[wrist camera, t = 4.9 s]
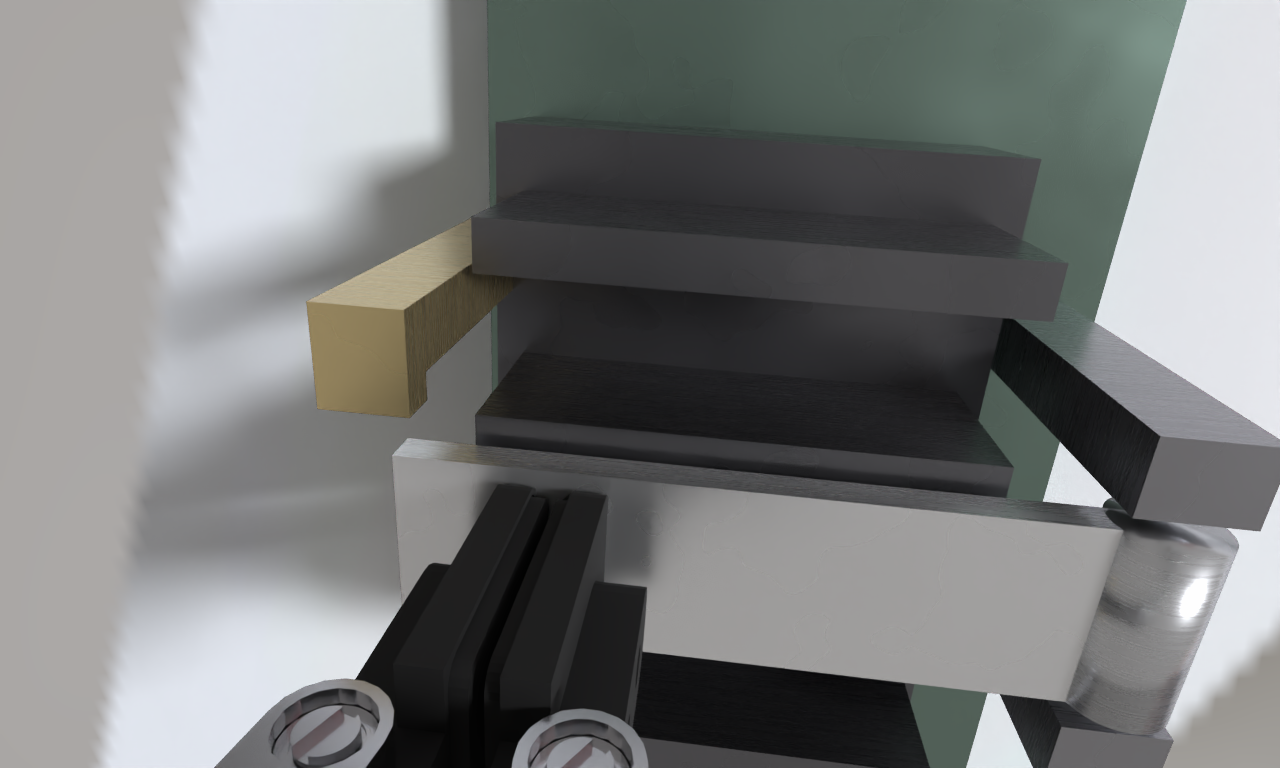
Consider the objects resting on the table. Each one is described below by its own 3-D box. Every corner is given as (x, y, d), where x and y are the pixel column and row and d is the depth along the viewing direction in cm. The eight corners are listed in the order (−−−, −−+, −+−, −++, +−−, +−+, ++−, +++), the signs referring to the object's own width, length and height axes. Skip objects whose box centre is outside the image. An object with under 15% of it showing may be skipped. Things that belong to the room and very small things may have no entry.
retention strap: (420, 424, 12) (377, 471, 11) (1196, 501, 11) (1266, 564, 10) (427, 581, 13) (390, 644, 12) (1135, 662, 12) (1191, 741, 11)
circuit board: (502, -218, 15) (197, -636, 6) (1207, -194, 14) (1986, -651, 5) (507, 730, 24) (383, 1095, 15) (939, 786, 23) (1068, 1210, 14)
